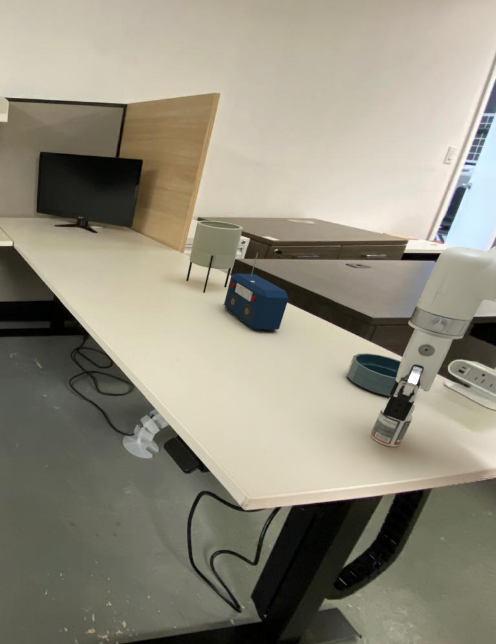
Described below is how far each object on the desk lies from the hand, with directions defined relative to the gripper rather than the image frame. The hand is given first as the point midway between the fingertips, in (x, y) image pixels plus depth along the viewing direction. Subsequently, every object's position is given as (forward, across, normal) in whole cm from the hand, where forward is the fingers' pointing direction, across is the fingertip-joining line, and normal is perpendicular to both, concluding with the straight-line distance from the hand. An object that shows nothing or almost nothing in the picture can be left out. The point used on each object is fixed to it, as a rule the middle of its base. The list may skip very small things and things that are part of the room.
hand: (396, 407), depth 86 cm
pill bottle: (+7, 0, -1) cm, 7 cm away
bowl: (+7, +27, +4) cm, 28 cm away
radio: (+8, +46, +40) cm, 62 cm away
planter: (+8, +69, +63) cm, 94 cm away
